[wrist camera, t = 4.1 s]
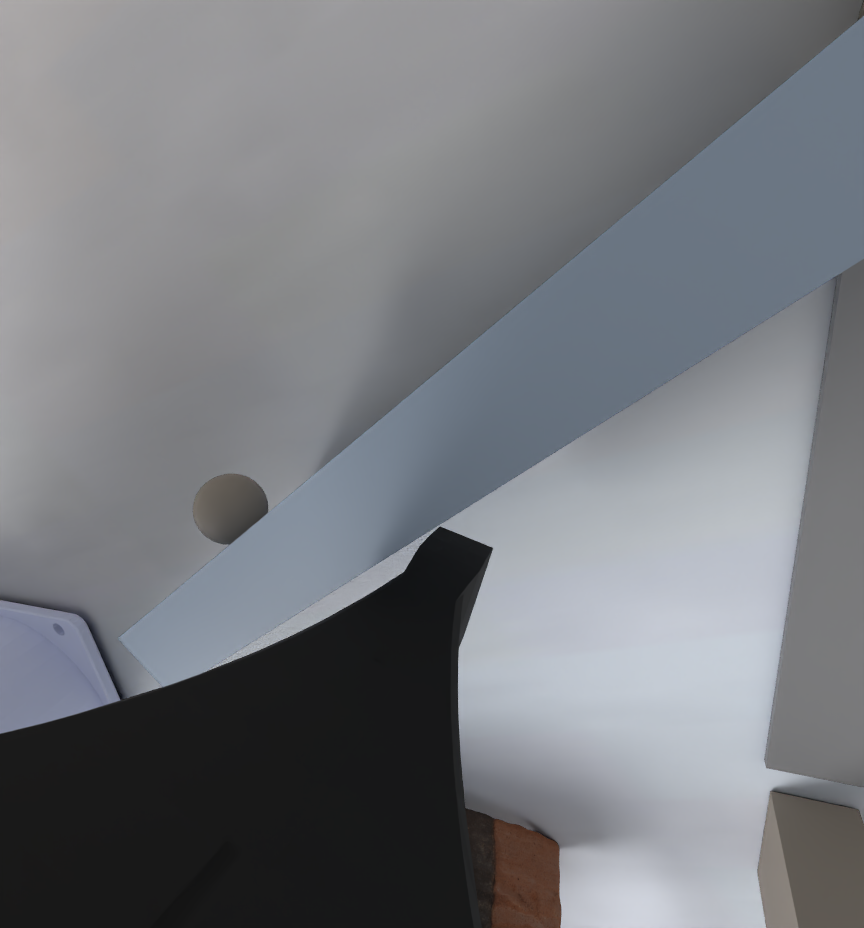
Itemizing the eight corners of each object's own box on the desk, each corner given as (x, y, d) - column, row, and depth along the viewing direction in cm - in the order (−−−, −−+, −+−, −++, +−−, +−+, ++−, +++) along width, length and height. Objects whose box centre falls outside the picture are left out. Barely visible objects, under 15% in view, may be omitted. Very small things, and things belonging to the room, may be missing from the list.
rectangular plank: (767, -3, 7) (973, -397, 2) (865, 147, 7) (1216, 36, 3) (270, 458, 13) (68, 586, 8) (332, 531, 13) (169, 694, 9)
